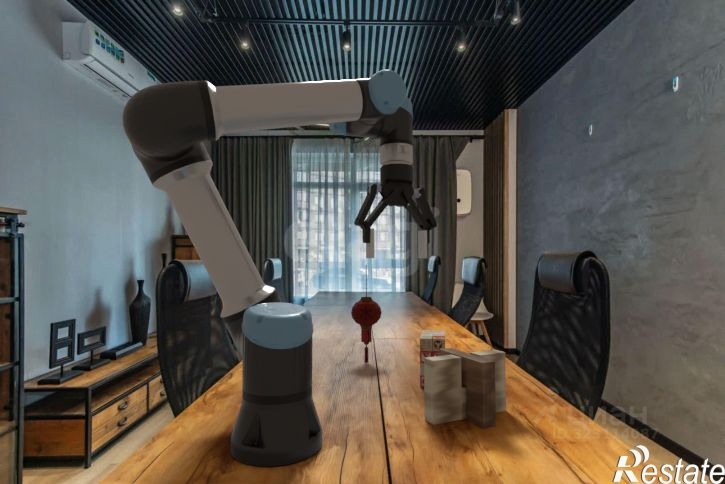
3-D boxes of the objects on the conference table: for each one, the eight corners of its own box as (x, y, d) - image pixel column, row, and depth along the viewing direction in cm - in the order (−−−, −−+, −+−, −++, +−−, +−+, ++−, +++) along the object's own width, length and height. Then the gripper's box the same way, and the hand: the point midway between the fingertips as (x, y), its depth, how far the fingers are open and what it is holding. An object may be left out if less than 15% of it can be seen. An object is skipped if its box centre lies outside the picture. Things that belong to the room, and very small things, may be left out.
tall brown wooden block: (483, 428, 79) (482, 363, 79) (439, 405, 92) (439, 349, 92) (496, 425, 80) (494, 361, 81) (451, 403, 93) (450, 347, 93)
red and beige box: (423, 366, 126) (423, 324, 127) (445, 367, 125) (444, 325, 125) (420, 387, 105) (419, 337, 106) (445, 389, 104) (445, 338, 104)
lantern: (352, 358, 137) (352, 264, 138) (381, 358, 136) (381, 264, 138) (350, 365, 127) (350, 265, 129) (381, 365, 127) (381, 264, 128)
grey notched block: (433, 424, 81) (432, 360, 81) (424, 419, 83) (424, 357, 84) (506, 410, 88) (505, 352, 89) (496, 406, 91) (495, 349, 91)
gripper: (353, 156, 89) (353, 258, 88) (451, 167, 99) (452, 258, 98) (339, 164, 96) (339, 258, 95) (433, 173, 106) (434, 258, 105)
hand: (397, 258), depth 97 cm, fingers open, 13 cm apart
